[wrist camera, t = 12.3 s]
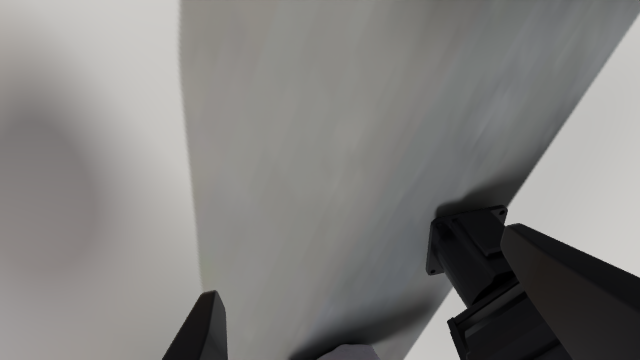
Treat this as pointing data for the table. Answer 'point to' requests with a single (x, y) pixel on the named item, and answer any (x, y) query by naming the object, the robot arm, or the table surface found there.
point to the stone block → (351, 353)
